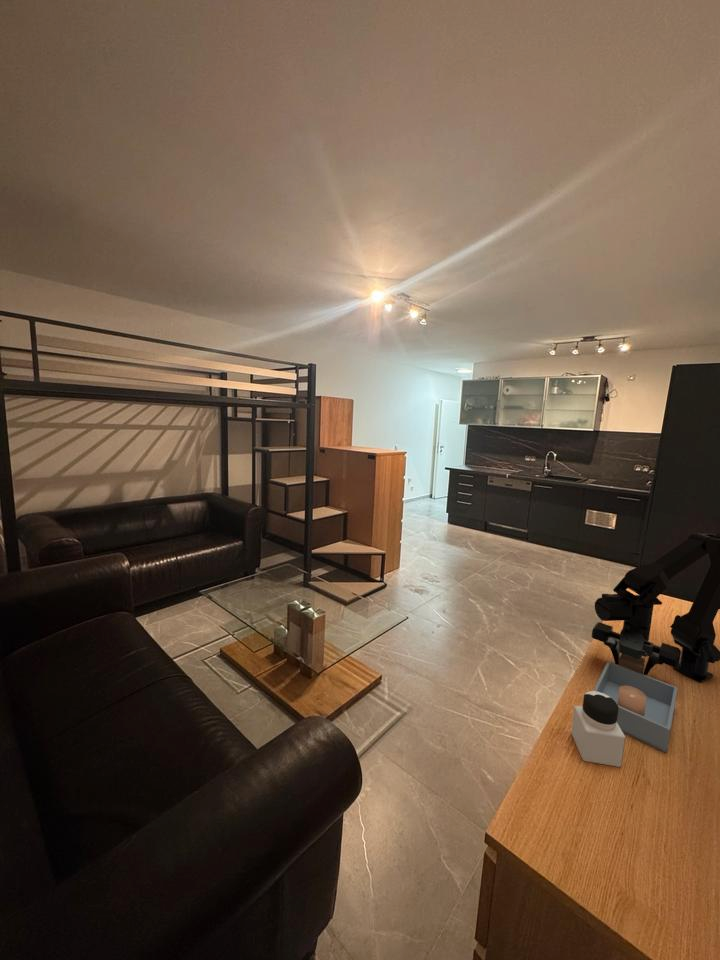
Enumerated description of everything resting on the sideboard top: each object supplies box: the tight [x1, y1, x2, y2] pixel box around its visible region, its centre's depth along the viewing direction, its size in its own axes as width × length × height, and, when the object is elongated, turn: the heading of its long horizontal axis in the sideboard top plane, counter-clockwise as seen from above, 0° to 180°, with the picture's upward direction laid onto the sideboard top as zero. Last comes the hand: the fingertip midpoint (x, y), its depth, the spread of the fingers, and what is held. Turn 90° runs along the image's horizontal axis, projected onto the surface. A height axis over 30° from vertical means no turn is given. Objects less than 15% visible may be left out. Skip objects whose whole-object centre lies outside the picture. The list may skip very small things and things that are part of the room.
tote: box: [592, 661, 678, 754], centre depth 89 cm, size 17×14×6 cm
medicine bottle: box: [570, 690, 626, 768], centre depth 78 cm, size 7×7×12 cm
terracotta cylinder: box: [617, 685, 646, 716], centre depth 85 cm, size 5×5×7 cm
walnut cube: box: [619, 653, 646, 674], centre depth 101 cm, size 5×5×5 cm
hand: (630, 671), depth 102 cm, fingers open, 6 cm apart
